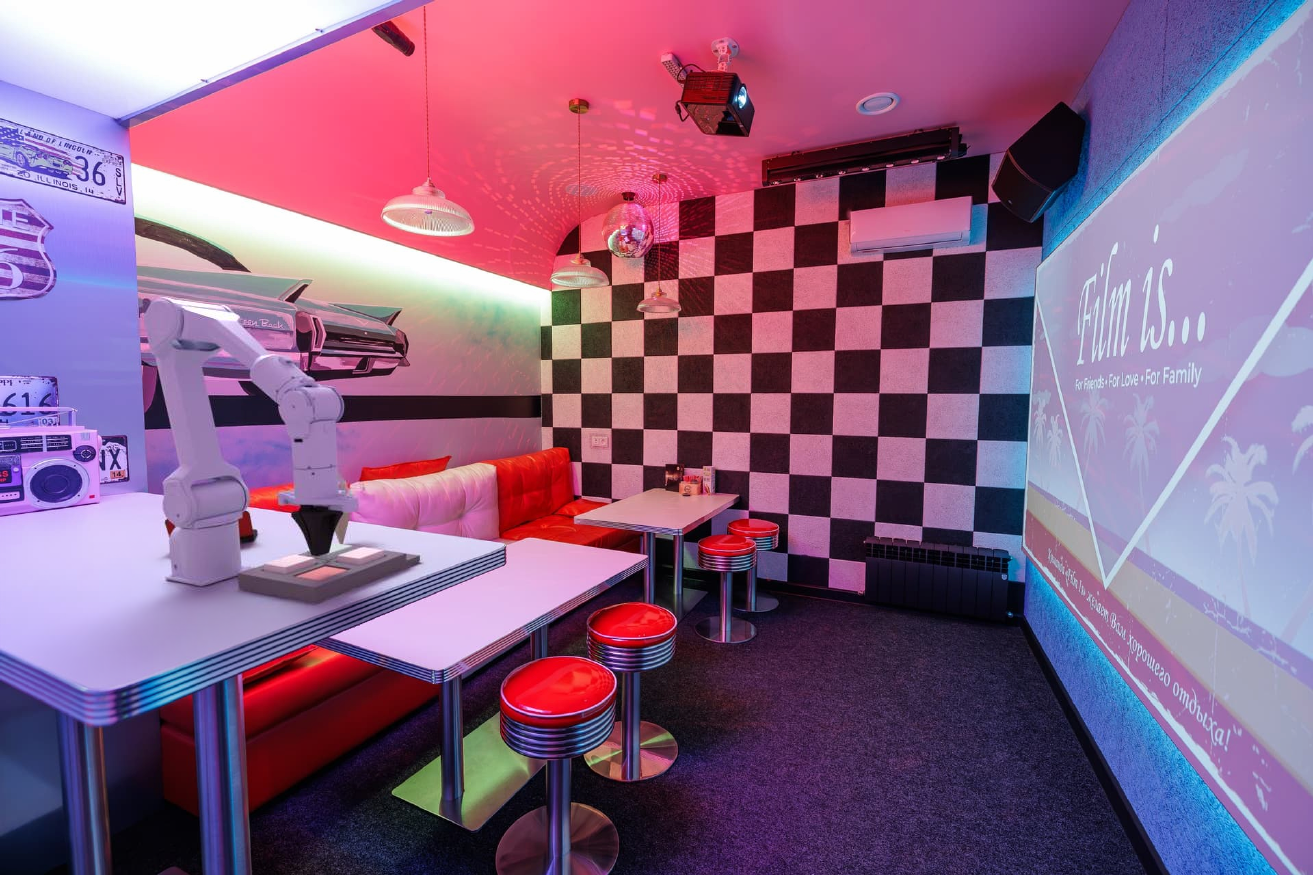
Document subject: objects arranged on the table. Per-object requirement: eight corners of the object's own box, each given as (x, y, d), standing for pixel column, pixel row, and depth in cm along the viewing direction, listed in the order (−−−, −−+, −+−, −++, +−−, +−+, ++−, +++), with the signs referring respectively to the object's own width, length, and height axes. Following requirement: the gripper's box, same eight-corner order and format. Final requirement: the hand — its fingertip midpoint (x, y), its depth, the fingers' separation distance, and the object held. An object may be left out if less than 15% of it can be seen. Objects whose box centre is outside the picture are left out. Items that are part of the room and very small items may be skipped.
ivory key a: (264, 571, 83) (263, 563, 83) (294, 561, 88) (294, 554, 88) (285, 574, 82) (285, 567, 81) (315, 565, 86) (314, 557, 86)
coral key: (296, 583, 81) (295, 576, 81) (325, 573, 85) (325, 566, 85) (319, 588, 79) (318, 580, 79) (347, 577, 84) (347, 570, 84)
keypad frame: (238, 588, 82) (237, 572, 82) (350, 551, 100) (350, 538, 100) (316, 604, 76) (314, 587, 76) (420, 562, 95) (419, 548, 94)
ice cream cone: (346, 548, 102) (342, 471, 101) (320, 548, 102) (315, 471, 101) (361, 540, 107) (357, 467, 106) (336, 540, 107) (332, 467, 106)
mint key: (307, 557, 90) (306, 550, 90) (333, 549, 94) (332, 542, 94) (327, 560, 88) (327, 553, 88) (353, 552, 93) (353, 545, 93)
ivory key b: (337, 562, 87) (337, 555, 87) (362, 553, 92) (362, 547, 92) (359, 565, 86) (359, 558, 86) (384, 556, 90) (383, 550, 90)
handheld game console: (258, 533, 113) (256, 499, 112) (252, 547, 104) (249, 509, 103) (180, 542, 107) (177, 506, 106) (166, 557, 98) (163, 517, 97)
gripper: (374, 465, 82) (378, 551, 83) (306, 460, 87) (311, 541, 88) (332, 472, 75) (337, 566, 77) (262, 466, 80) (267, 554, 82)
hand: (320, 554), depth 82 cm, fingers closed
